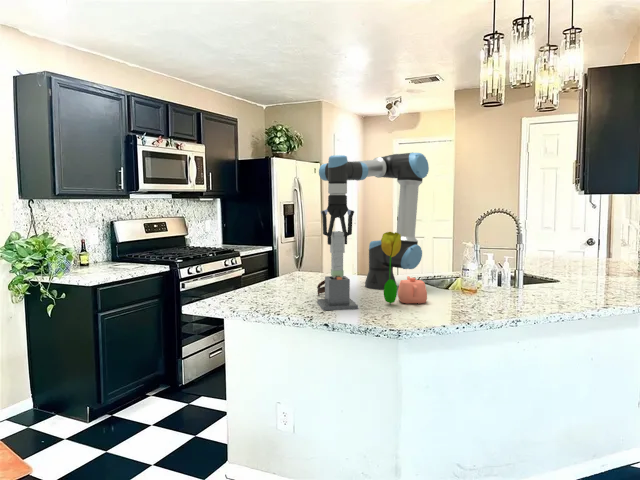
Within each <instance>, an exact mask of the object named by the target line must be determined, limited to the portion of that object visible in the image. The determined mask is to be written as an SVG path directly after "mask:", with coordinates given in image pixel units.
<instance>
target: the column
mask: <svg viewBox="0 0 640 480" xmlns="http://www.w3.org/2000/svg"><path fill="white" fill-rule="evenodd" d="M331 236H332V237H333V253H330V255H331V257H330V258H331V261H330V262H331V264H330V265H331V266H330V276H331V279H336V277H342V279H343V276H345V275H344V273H345V272H344V271H345V270H344V253H343V236H344V232H343V231H338V230H337V231H336V230H335V231H333V230H332V235H331Z"/></svg>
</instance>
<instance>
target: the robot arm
mask: <svg viewBox="0 0 640 480" xmlns="http://www.w3.org/2000/svg"><path fill="white" fill-rule="evenodd" d="M429 169H430V167H429V162H428V159H427V158H426V156H425V155H424V154H423V153H420V152H406V153H393V154H388V155H385V156H379V157H374V158H373V159H371V160H369V159H367V160H355V161H354V160H353V161H349V160H348V156H347V155H342V154H341V155H340V154H339V155H338V154H337V155H336V154H334V155H330V156H329V157H328V162H327V163H322V164H321V165H320V166H319V168H318V175H319V178H320V179H321V180H322V181H325V182H327V183H328V184H327V185H328V188H327V189H328V190H327V192H328V193H327V194H328V196H327V199H328V200H327V203H328V204H327V208H326V209H324V210H321V211H320V214H321V216H322V217H321V218H322V219H321V220H322V234H323V235H324V236H326V237H327V245H329V253H330V254H331V253H333V237H332V236H331V235H332V231H333V230H334V225H335V221H336V219H337V218H338V219H339V221H340V224H341V230H342V231H341V232H344V236H343V254H345V253H346V251H345V249H346V248H345V247H346V245H348V237H349V236H351V235H352V234H353V216H354V213H355V211H354V210H352V209H349V208H348V196H347V195H346V194H348V181H357V182H358V181H363V180H365V179H366V178H368V177H375V178H381V179H382V178H383V179H384V178H387V179H396V182H397V183H398V184H399V193H398V194H399V198H398V209H397V222H396V232H397V233H399V234H401V248H400V251H399V252H398V253H397V254H396V255H395V256H393V257H391V271H390V256H388V255H386V254H385V253H384V252H383V250H382V247H381V239H379V240H372V241H370V242H369V246H368V248H369V249H368V273H367V275H366V279H365V281H364V282H365V283H364V286H365V287H366V288H367V289H374V290H384V286H385V283H386V282H387V281H388V280H389V273H390V279H391V280H392V279H393V280H394V282H395V283H396V284H397V282H396V279H395V278H396V277H395V275H394V272H393V270H394V269H393V268H397V269H403V270H413V269H416V268H417V267H418V265H419V264H420V263H421V261H422V258H423V250H422V247H421V245H419V243H418V242H419V240H417V238H416V224H417V214H418V201H419V187H420V185H422V184H423V180H424V179H425V178H426V177H427V176H428V175H429V171H430V170H429ZM346 214H347V215H348V216H347V225H346V222H345V221H346V220H345V215H346ZM327 215H330V219H329V220H330V221H329V224H328V222H327V221H328V219H327Z"/></svg>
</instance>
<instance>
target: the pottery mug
mask: <svg viewBox="0 0 640 480" xmlns="http://www.w3.org/2000/svg"><path fill="white" fill-rule="evenodd" d="M316 289H317V295H318V296H320V295H321V294H325V279H324V280H322V281H321V282H319V283H318V285H317V287H316Z"/></svg>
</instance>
